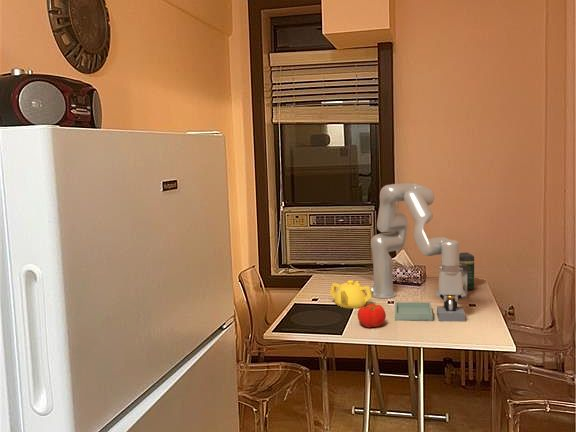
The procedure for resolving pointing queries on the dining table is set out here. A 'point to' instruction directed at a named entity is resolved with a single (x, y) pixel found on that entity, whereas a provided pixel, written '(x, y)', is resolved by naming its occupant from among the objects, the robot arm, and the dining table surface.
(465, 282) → the coffee box
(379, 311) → the tomato
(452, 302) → the orange knob peg
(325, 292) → the dining table surface
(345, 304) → the teapot
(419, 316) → the tray
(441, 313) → the grey square hole block
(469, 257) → the coffee jar
